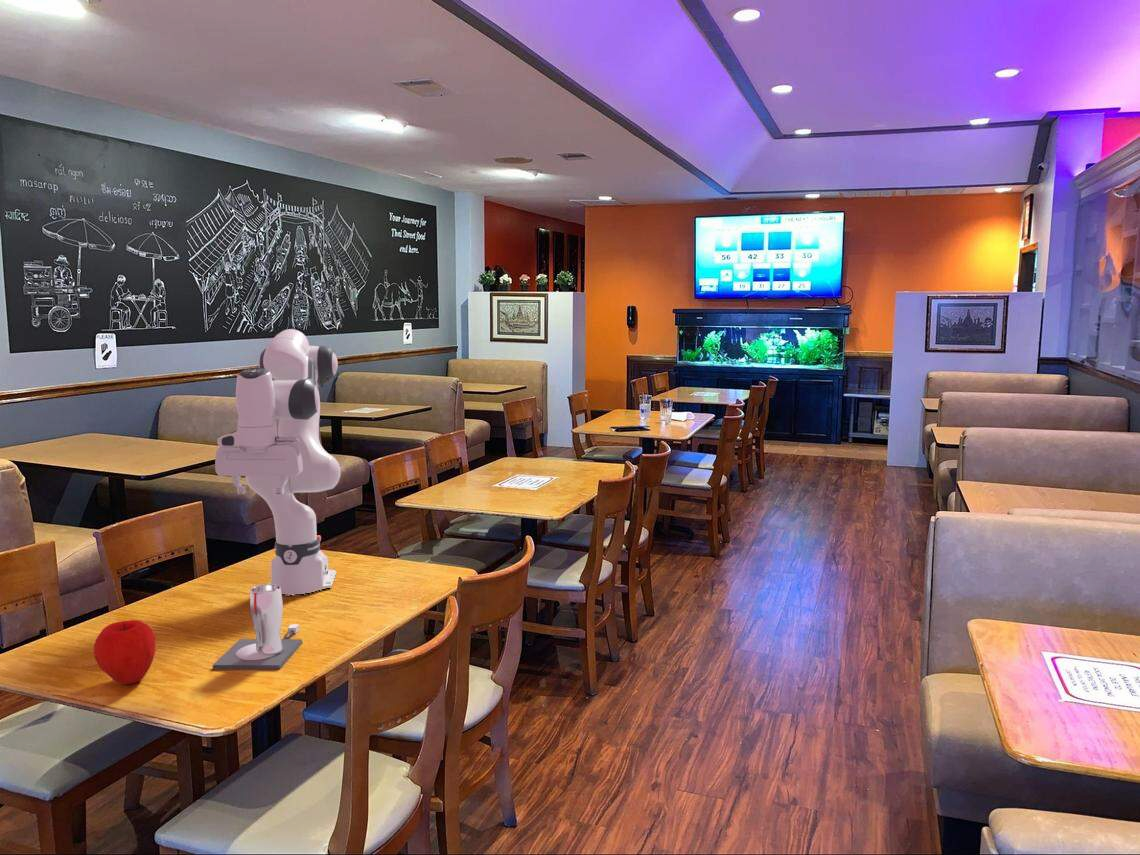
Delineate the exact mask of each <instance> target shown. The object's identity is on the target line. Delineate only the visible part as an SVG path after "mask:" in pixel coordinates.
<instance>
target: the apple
mask: <svg viewBox="0 0 1140 855" xmlns="http://www.w3.org/2000/svg"><path fill="white" fill-rule="evenodd" d="M156 643H157V642H156V635H155V633H154V631H153V628H152V627H150V626H149V624H147V623H145V622H144V621H141V620H137V619H132V620H131V619H130V620H122V621H121V620H120V621H116V622H113V623H109V624H108V625H107V626H105V627H104V628H102V629H101V631H100V632H99V634H98V636H97V637H96V639H95V642H94V645H93V656H94V659H95V663H96V664H97V666H99V669H100V670H101V671H102V672H104V673H105V674H106V675H107V676H108V677H109V678H111V679H112V680H113V681H114V682H115V683H119V684H121V685H131V684H134V683H139V682H140V681H141V680H143V679H144V678H145V676H146V674H147V673H148V671H149V669H150V667H151V666H152V663H153V661H154V657H155V654H156Z"/></svg>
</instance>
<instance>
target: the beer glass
mask: <svg viewBox="0 0 1140 855" xmlns="http://www.w3.org/2000/svg"><path fill="white" fill-rule="evenodd" d="M249 596H250V597H249V599H250V602H249V603H250V604H249V607H250V608H249V609H250V615H251V620H252V624H253V628H254V632H255V639H256V648H255V653H256V654H257V655H259V656H271V655H275V654H278V653H280V652H281V651H282V650H283V646H282V642H281V639H282V637H281V629H282V628H281V627H282V620H283V611H284V610H283V609H284V607H283V606H284V605H283V604H284V603H283V595H282V593H281V586H280V585H277V584H269V583H262V584H258V585H256V586H253V587H251V588H250V594H249Z"/></svg>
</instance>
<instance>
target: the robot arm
mask: <svg viewBox="0 0 1140 855" xmlns="http://www.w3.org/2000/svg"><path fill="white" fill-rule="evenodd" d="M338 365H339V362H338V358H337V355H336V352H335V351H334V349H333V348H332V347H329V346H325V345H320V346H318V345H310V343H309V340H308V337H307V336H306V335H305V334H304V333H303V332H301V331H300V330H297V329H294V328H289V329H284V330H282V331H281V332H279V333H277V334H276V335H275V336H274V337H273V338H272V339H271V341H270V342H269V344H268V345H267V346H266V348H264V350H263V351H261V353H260V356H259V359H258V368H257V367H255V368H248V369H243V370H241V371H240V372H238V373H237V377H236V386H235V408H236V411H237V415H238V418H237V420H238V421H237V424H236V428H237V430H236V431H231V432H230V433H228V434H225V435H223V436H220V437H218V438H217V440H216V442H217V445H218V448H217V449H216V452H215V459H214V462H215V463H214V466H215V468H214V469H215V473H216V474H217V475H218V476H219V477H231V478H230V479H231V482H232V483H233V485H234V486H235V488H236V492H237V495H245V494H247V490H246V489H247V487H246V485H242V483H241V480H240V479H241V478H242V477H244V478H245V481H246V484H247V486H248V487H249V488H250V489H251V490H252V491H253V492H255V494H258V495H259V496H260V497H261V498H262V499H263V500H264V501H265V503H267V505H268V506H269V508H270V510H271V512H272V517H273V520H274V528H275V540H276V541H275V542H274V553H275V557H274V558H273V559H272V560H271V562H270V582H269V583H268V584H277V585H280V586H281V593H282V594H288V595H287V596H290V595H292V594H304V593H309V592H313V591H316V590H319V589H322V588H327V587H331V586H332V584H333V581H334V582H335V580H334V578H335V579H336V577H335V575H336V576H337V574H336V573H337V571H336V570H335V569H331V568H329V560H328V558H329V557H328V556H327V555H326V554H325V553H324V552H323V551H322V550H321V545H320V543H321V540H322V536H321V535H320V534H319V535H317V534H318V532H317V515H316V513H315V511H314V509H313V508H311V507H310V506H309V505H306V504H304V503H302V502H300V501H299V500H297V498H296V496H295V493H298V494H299V493H301V494H302V493H320V492H325V491H329V490H332V489H334V488H335V487H336V486H337V485H338V483H339V482H340V479H341V473H342V472H341V466H340V464H339V462H338V460H337V459H336V458H335V456H334V455H332V454H330V453H328V451H327V450H325V449H324V447H323V446H322V443H321V441H320V437H319V436H320V433H319V432H320V416H321V401H320V400H321V399H320V398H321V396H320V390H319V386H320V387H321V389H325V388H326V387H327V384H329V383H331V382H332V381H333V379H334V378H335V377H336V375H337V374H336V373H337V371H338V368H339V366H338ZM277 420H278V426H277ZM277 428H278V430H277ZM333 585H334V584H333ZM304 595H305V594H304ZM292 596H293V595H292Z"/></svg>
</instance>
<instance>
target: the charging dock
mask: <svg viewBox="0 0 1140 855" xmlns="http://www.w3.org/2000/svg"><path fill="white" fill-rule="evenodd" d="M297 632H300V623H294V624H293V623H291V624H290V625H289V626H288V627H287V634H286V635H285V636H284V637H283V638H281V642H282V646H283V650H282V651H281V652H280V653H278V654H275V655H271V656H259V655H257V654H256V653H255V648H256V638H240V639H238V640H237V642H235V643H234V644H233V645H232V646H231V647H230V648H229V649H228V650H226V652H225V653H224V654H222V655H221V656H220V658H219V659H217V660H216V661H215V662H214V663H213V664H212V670H281V669H282V668H283V666H285V664H286V663H287V662H288V660H289V659H290V658H291V657H292V656H293V655H294V653H295V652H296V651H297V650H299V648H300V647H301V646H302V644H303V639H302V638H301V639H300V638H299V639H298V638H295V639H294V638H291V637H292V636H293V635H297V634H298V633H297ZM293 633H295V634H293ZM296 633H297V634H296ZM299 646H300V647H299Z"/></svg>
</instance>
